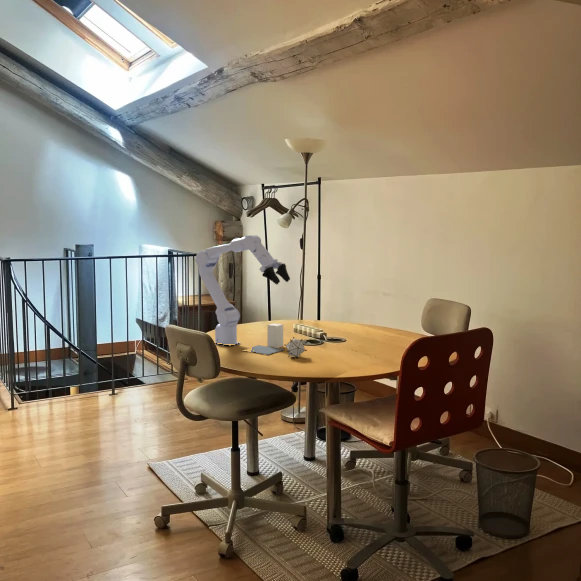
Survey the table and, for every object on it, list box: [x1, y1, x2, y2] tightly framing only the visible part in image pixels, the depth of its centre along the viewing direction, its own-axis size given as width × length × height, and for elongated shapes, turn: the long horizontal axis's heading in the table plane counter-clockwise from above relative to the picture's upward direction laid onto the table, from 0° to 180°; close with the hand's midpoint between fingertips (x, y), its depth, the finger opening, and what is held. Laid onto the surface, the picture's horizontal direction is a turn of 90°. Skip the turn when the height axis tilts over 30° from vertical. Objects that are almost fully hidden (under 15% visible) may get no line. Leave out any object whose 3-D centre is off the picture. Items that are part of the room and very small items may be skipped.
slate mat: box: [250, 344, 285, 356], centre depth 264 cm, size 14×12×1 cm
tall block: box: [266, 323, 284, 348], centre depth 271 cm, size 5×5×10 cm
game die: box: [283, 336, 308, 360], centre depth 252 cm, size 9×8×10 cm
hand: (283, 281), depth 258 cm, fingers open, 7 cm apart
